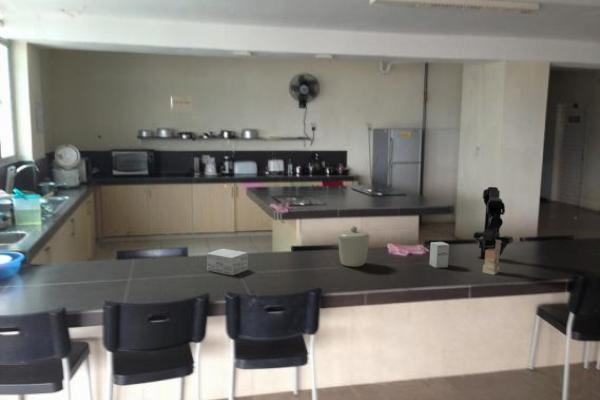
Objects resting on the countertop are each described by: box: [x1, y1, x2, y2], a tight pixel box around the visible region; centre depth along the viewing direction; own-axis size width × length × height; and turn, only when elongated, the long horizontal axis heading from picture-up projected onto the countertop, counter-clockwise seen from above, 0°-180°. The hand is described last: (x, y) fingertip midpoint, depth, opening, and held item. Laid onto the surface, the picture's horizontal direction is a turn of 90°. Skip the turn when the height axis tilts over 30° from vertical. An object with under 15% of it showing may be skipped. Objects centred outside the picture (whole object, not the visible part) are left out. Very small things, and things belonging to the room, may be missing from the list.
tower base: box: [482, 263, 500, 275], centre depth 269 cm, size 6×6×4 cm
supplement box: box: [428, 241, 450, 269], centre depth 279 cm, size 7×7×13 cm
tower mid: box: [484, 257, 500, 267], centre depth 268 cm, size 5×5×4 cm
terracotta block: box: [485, 248, 500, 259], centre depth 268 cm, size 5×5×4 cm
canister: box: [336, 225, 371, 268], centre depth 278 cm, size 18×18×21 cm
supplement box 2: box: [206, 248, 249, 276], centre depth 265 cm, size 17×13×9 cm
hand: (491, 253), depth 268 cm, fingers open, 9 cm apart
